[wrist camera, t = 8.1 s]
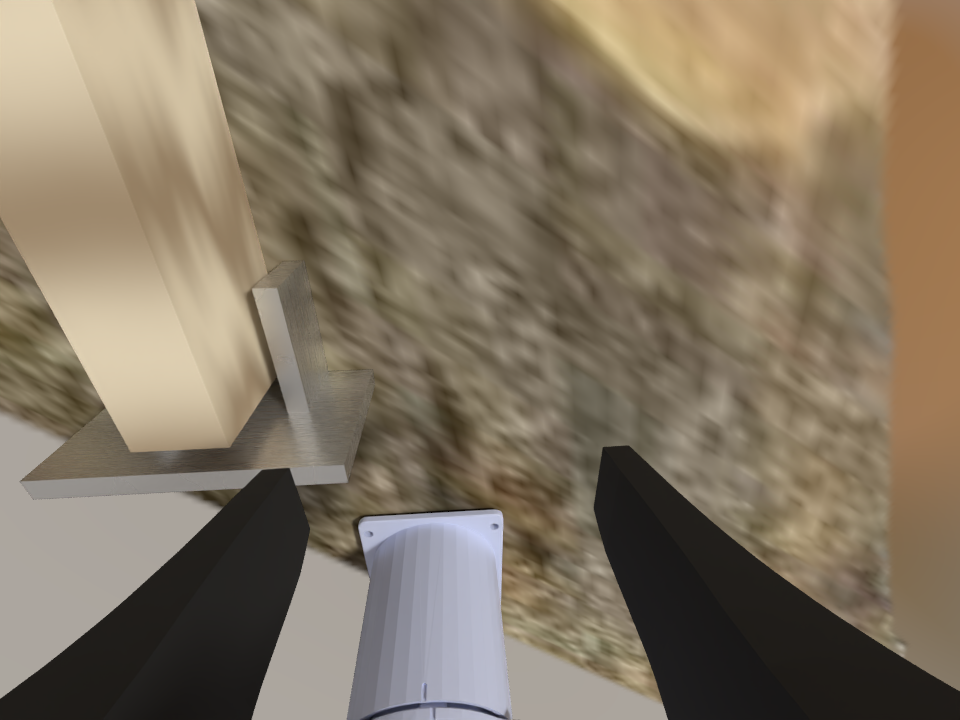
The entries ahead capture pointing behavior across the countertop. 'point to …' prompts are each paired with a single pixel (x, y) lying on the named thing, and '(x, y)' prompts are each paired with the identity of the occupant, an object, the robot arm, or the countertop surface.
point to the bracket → (264, 438)
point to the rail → (134, 212)
